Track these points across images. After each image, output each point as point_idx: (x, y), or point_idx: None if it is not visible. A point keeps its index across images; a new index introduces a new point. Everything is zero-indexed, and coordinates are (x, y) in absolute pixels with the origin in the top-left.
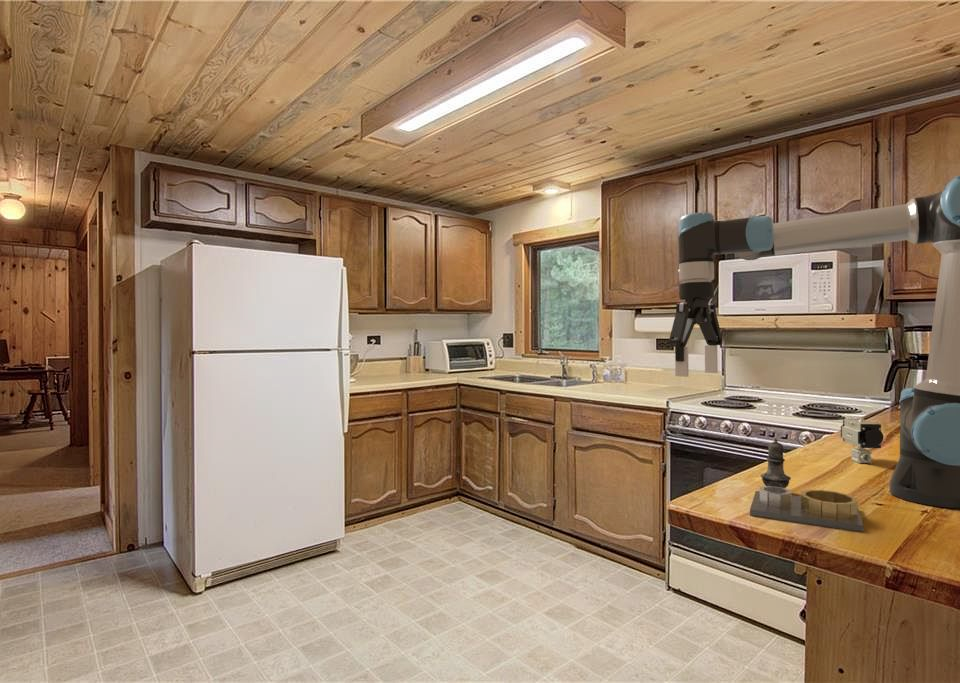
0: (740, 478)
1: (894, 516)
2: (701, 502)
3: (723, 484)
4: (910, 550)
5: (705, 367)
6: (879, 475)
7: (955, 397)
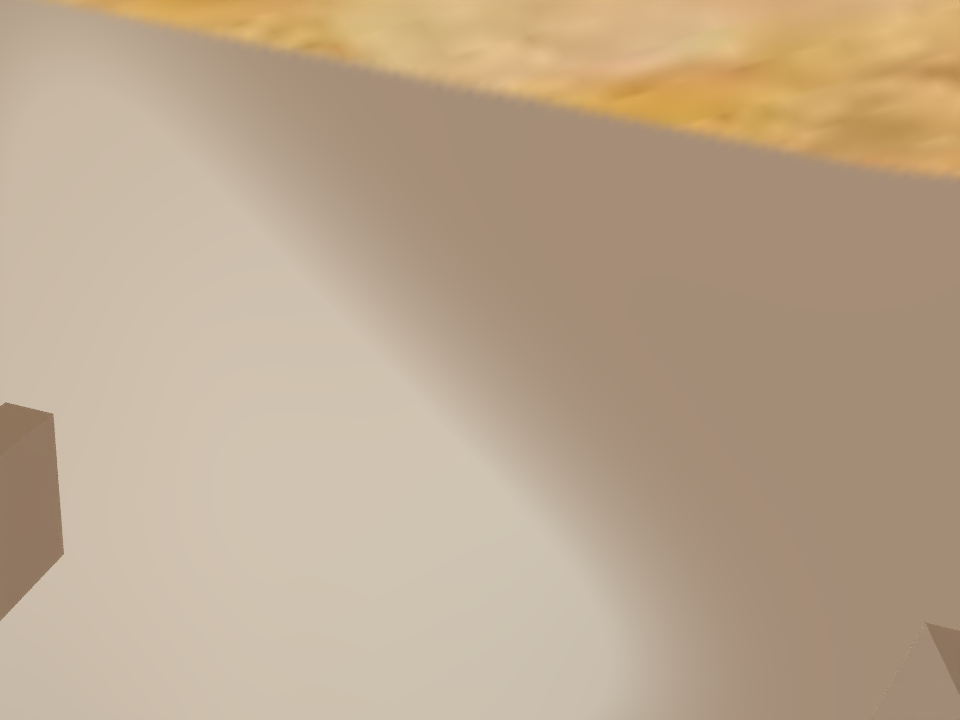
0: (298, 24)
1: None
2: (913, 74)
3: (484, 71)
4: None
5: (13, 600)
6: None
7: None
